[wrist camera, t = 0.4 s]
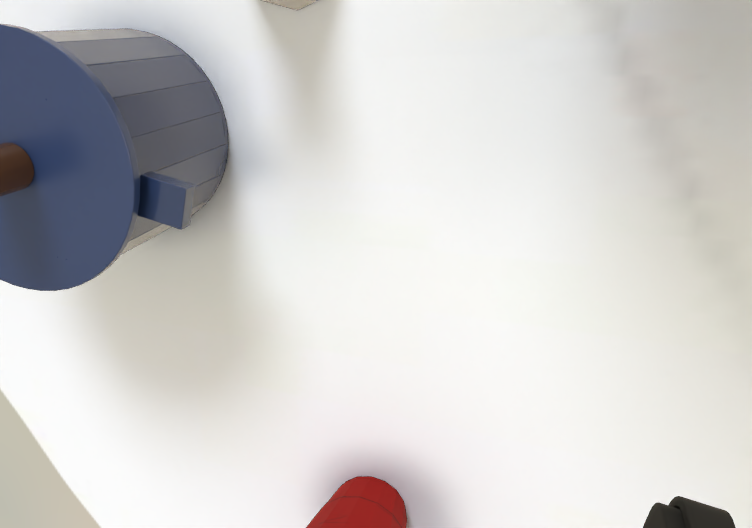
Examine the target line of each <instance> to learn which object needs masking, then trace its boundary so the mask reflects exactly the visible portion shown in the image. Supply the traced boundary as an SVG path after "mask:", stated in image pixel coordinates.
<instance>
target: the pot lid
mask: <svg viewBox="0 0 752 528" xmlns="http://www.w3.org/2000/svg"><path fill="white" fill-rule="evenodd" d="M139 202H140V178H139V167H138V162H137V157H136V152H135V148H134V145H133V142H132V139H131V136H130V132H129V130H128V127H127V125H126V123H125V121H124V119H123V116H122V114H121V112H120V110H119V109H118V107H117V105H116V103H115V102H114V100H113V98H112V97H111V95H110V94H109V92H108V91H107V90H106V88H105V87H104V85H103V84H102V83H101V81H100V80H99V79H98V78H97V77H96V76H95V74H94V73H93V72H92V71H91V70H90V69H89V68H88V67H87V66H86V65H85V64H84V63H83V62H82V61H81V60H80V59H78V58H77V57H76V56H75V55H74V54H73V53H72V52H70V51H69V50H67V49H66V48H64V47H63V46H61V45H60V44H59V43H57V42H55V41H53V40H52V39H50V38H48V37H46V36H44V35H42V34H40V33H37V32H35V31H32V30H29V29H26V28H23V27H18V26H13V25H8V24H0V280H3V281H5V282H7V283H10V284H12V285H16V286H19V287H23V288H26V289H33V290H40V291H56V290H63V289H69V288H72V287H75V286H79V285H82V284H83V283H85V282H87V281H89V280H91V279H93V278H95V277H97V276H98V275H100V274H101V273H102V272H104V271H105V270H106V269H108V268H109V267H110V266H111V265H112V264H113V263H114V262H115V261H116V260H117V259H118V257H119V256H120V254H121V253H122V251H123V250H124V248H125V247H126V245H127V243H128V241H129V239H130V237H131V235H132V233H133V229H134V226H135V223H136V219H137V215H138V209H139Z"/></svg>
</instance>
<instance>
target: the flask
mask: <svg viewBox="0 0 752 528" xmlns="http://www.w3.org/2000/svg"><path fill="white" fill-rule="evenodd" d="M262 1H265V2H269V3H273V4H276V5H280V6H284V7H288V8H291V9H295V10H299V9H301V8H303V7H305V6H307V5H309V4H311V3H313V2H315V1H317V0H262Z"/></svg>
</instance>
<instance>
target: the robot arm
mask: <svg viewBox="0 0 752 528" xmlns="http://www.w3.org/2000/svg"><path fill="white" fill-rule="evenodd" d="M643 528H735V525H734V522H733V519H732V517H731V516H730V514H729V513H728V512H727V511H725V510H722V509H719V508H715V507H712V506H709V505H706V504H703V503H699V502H696V501H693V500H690V499H686V498H683V497H680V496H677V497H674V499H673V500H672V501H671V502H670V504H669V505H665V504H661V503H655V504H654V506H653V507H652V509H651V510H650V512H649V515H648V517H647V519H646V522H645V524H644V526H643Z"/></svg>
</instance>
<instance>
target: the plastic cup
mask: <svg viewBox="0 0 752 528" xmlns="http://www.w3.org/2000/svg"><path fill="white" fill-rule="evenodd" d="M406 524H407V517H406V510H405V505H404V501H403V499H402V498H401V496H400V495H399V493H398V492H397V490H396V489H394V488H393V487H392V486H390V485H389V484H388V483H386V482H385V481H383V480H380V479H377V478H374V477H356V478H353V479H351V480H348V481H346V482H345V483H344V484H342V485H341V487H340V488H339V489H338V490H337V491H336V492H335V493H334V495H333V496H332V497H331V499H330V500H329V501H328V502H327V503H326V504H325V505H324V506H323V508H322V509H321V510H320V511H319V512H318V513H317V514H316V516H315V517H314V518H313V520H312V521H311V522H310V523H309V525H308V526H307V527H306V528H406Z"/></svg>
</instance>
